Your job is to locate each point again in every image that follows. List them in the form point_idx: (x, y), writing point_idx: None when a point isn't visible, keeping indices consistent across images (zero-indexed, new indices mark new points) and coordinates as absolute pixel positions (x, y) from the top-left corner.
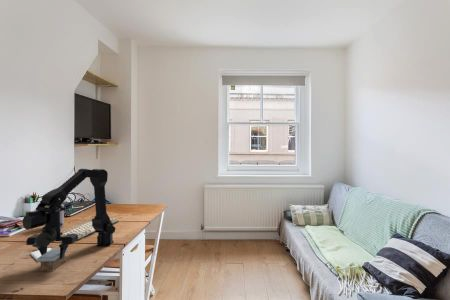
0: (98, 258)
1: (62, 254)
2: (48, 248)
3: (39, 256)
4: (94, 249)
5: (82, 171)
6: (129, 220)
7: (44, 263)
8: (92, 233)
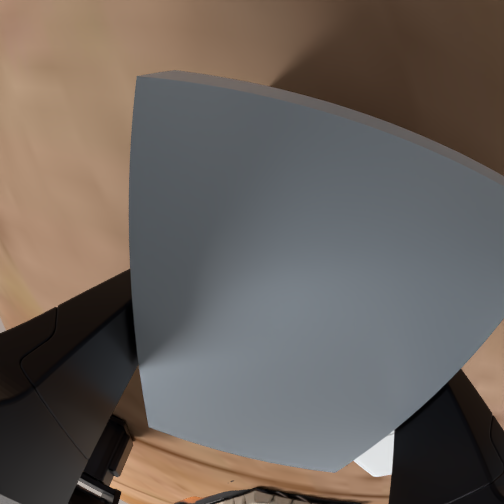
0: (11, 270)
1: (101, 293)
2: (381, 473)
3: None
4: None
5: None
6: (147, 495)
7: None
8: (221, 497)
